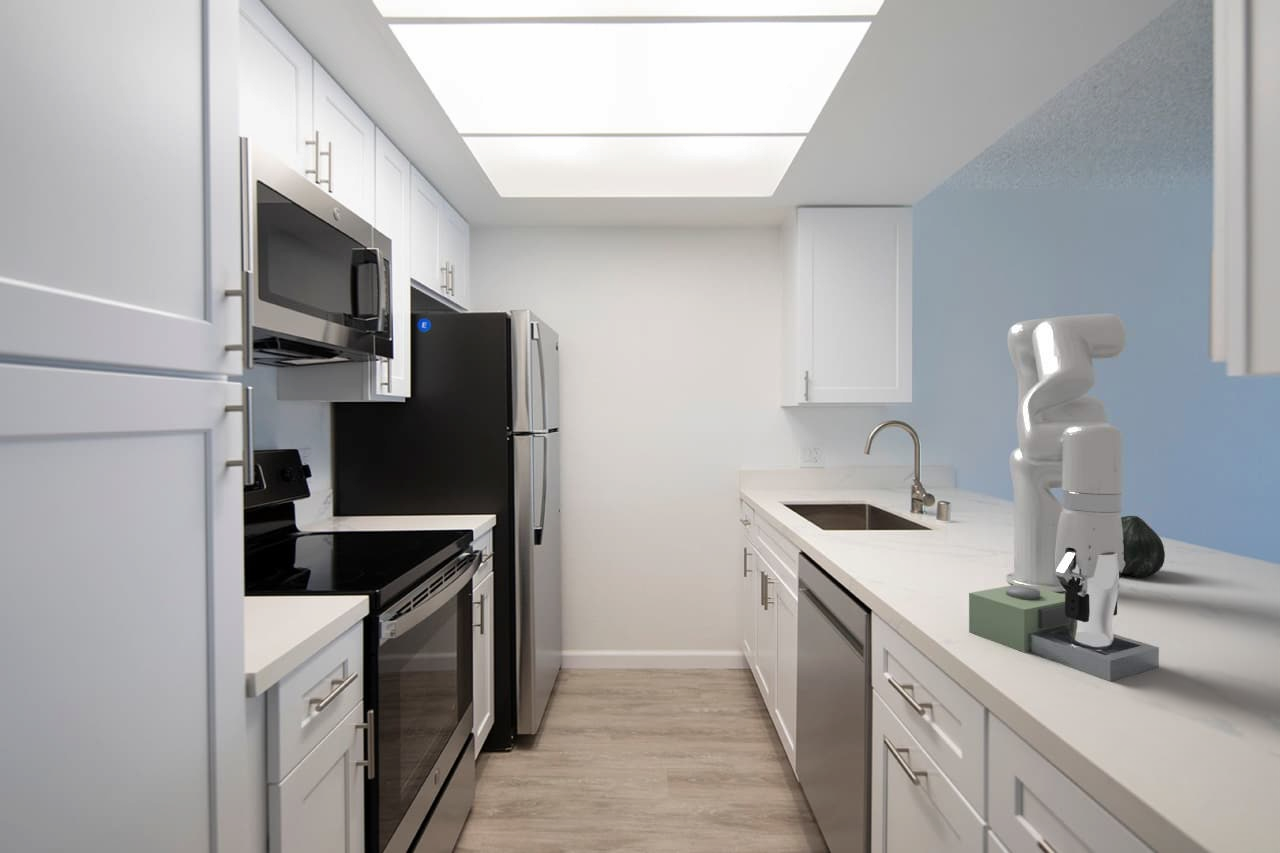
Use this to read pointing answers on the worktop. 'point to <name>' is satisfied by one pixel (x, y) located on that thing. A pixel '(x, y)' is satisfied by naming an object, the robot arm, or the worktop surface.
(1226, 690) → the worktop surface
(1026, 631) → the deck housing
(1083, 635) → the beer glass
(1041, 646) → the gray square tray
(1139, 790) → the worktop surface
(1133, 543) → the squash
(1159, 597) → the worktop surface
